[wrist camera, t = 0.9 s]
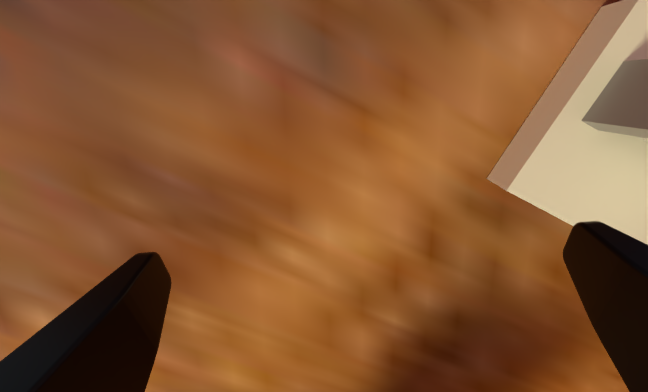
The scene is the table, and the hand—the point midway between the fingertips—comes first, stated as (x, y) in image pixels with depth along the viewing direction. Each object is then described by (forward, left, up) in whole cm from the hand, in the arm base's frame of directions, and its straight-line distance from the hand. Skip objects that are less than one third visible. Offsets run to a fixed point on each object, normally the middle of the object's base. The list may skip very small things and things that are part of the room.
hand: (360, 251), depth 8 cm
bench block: (-7, -13, -13) cm, 20 cm away
